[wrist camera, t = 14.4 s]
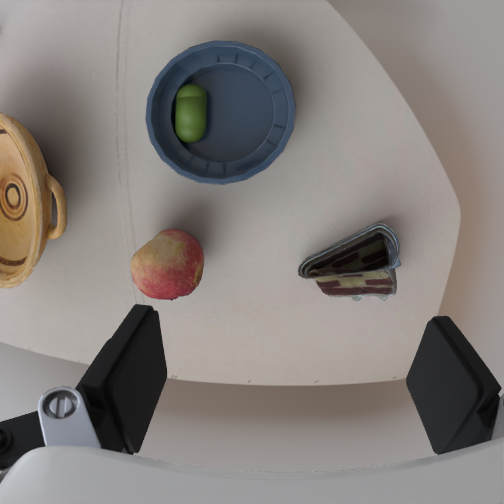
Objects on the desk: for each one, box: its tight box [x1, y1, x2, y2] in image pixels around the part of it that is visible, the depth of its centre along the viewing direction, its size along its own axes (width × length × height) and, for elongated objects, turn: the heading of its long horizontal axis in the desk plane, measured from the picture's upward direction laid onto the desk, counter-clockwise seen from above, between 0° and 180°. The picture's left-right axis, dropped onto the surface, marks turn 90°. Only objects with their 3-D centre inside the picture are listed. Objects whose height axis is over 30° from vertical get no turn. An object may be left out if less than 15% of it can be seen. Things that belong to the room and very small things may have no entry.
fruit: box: [131, 229, 204, 300], centre depth 34 cm, size 8×8×8 cm
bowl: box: [146, 41, 296, 185], centre depth 29 cm, size 14×14×5 cm
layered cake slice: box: [298, 223, 401, 301], centre depth 35 cm, size 10×7×12 cm
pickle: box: [175, 84, 207, 143], centre depth 30 cm, size 6×3×3 cm
